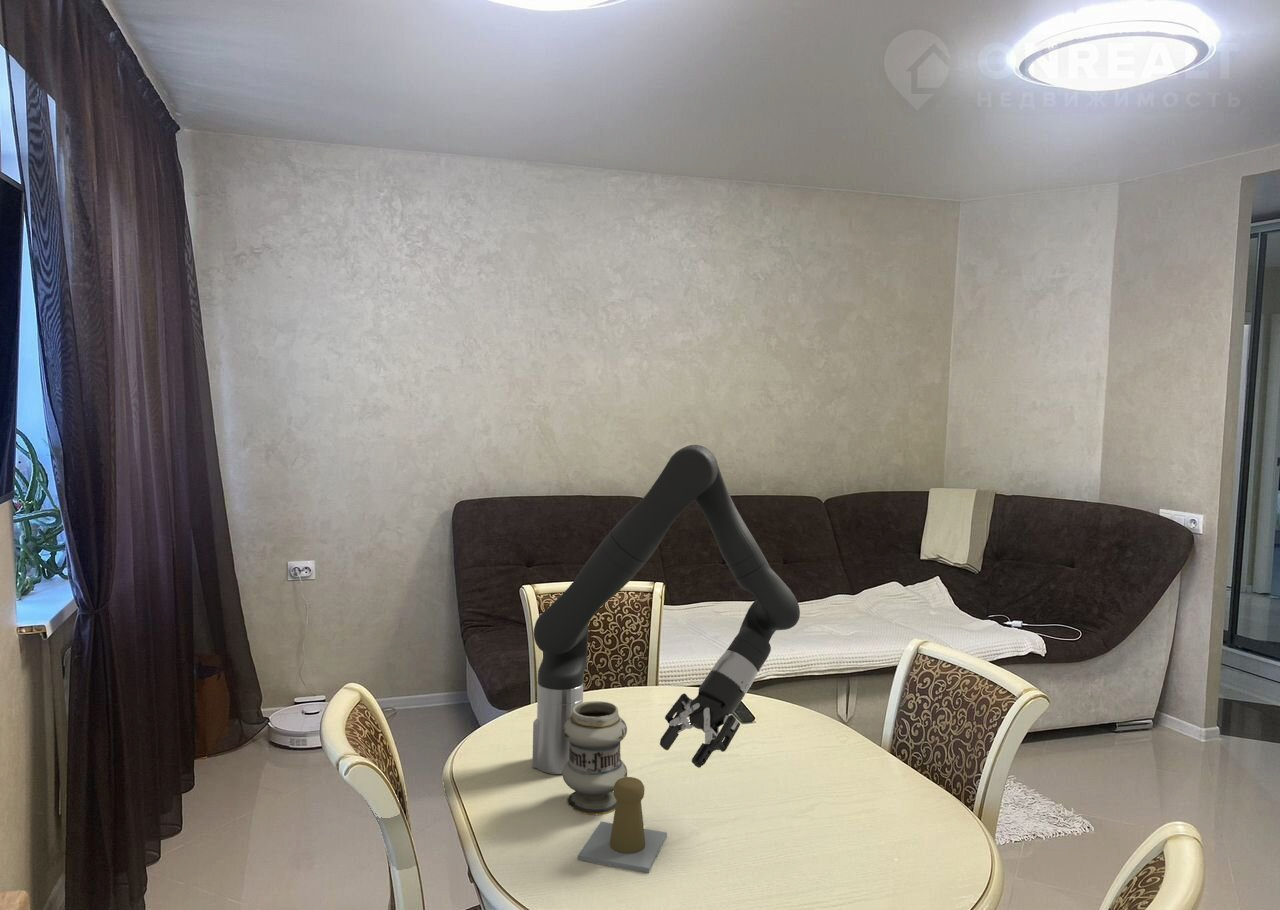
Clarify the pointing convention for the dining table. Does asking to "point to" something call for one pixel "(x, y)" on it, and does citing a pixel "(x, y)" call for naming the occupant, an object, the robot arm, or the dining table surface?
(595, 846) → the slate tile
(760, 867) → the dining table surface
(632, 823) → the brown pawn
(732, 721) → the robot arm
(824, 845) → the dining table surface
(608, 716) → the apothecary jar
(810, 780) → the dining table surface
